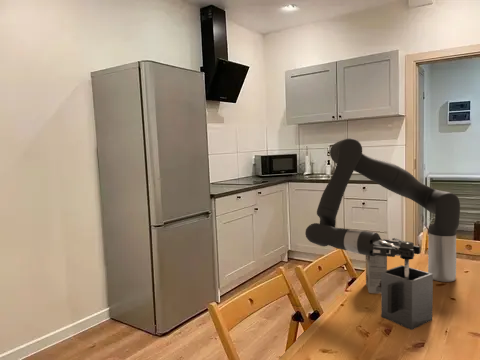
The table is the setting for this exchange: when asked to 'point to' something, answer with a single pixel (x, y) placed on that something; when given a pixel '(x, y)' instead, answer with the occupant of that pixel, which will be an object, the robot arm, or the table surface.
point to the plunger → (406, 265)
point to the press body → (406, 297)
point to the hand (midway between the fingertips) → (416, 252)
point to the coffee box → (375, 272)
